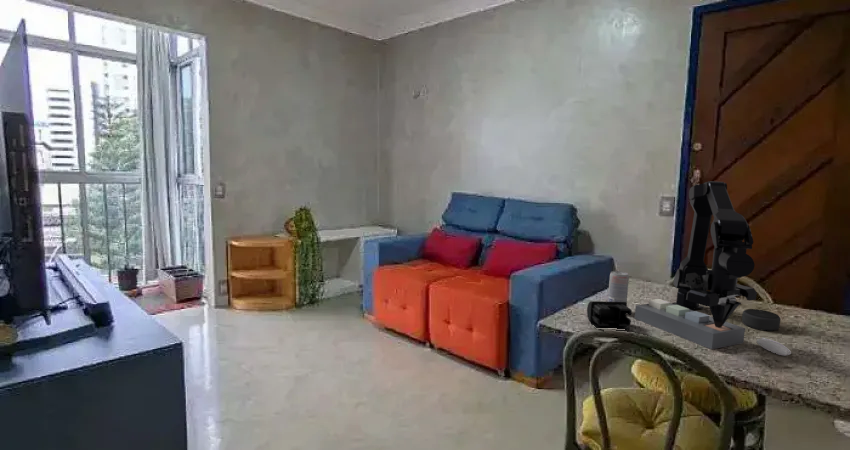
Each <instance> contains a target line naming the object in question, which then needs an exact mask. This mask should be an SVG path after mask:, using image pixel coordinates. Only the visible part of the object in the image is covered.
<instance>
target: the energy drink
mask: <svg viewBox="0 0 850 450" xmlns="http://www.w3.org/2000/svg"><path fill="white" fill-rule="evenodd" d="M629 278H630V276H629V273H628V272H625V271H620V270H613V271H610V274H609V282H608V295H607V302H627V303H628V292H629Z"/></svg>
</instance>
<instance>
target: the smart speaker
mask: <svg viewBox="0 0 850 450" xmlns="http://www.w3.org/2000/svg"><path fill="white" fill-rule="evenodd" d="M741 322H742V323H743V324H744V325H745V326H747V327H750V328H752V329H755V330H761V331H766V330H767V332H769V331H772V332H773V330H774V331H777V330H779V328H780V326H781V317H780V315H778V314H777V313H774V312H772V311H768V310H765V309H755V308H748V309H744V310H743V311H742V316H741Z"/></svg>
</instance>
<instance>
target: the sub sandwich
mask: <svg viewBox="0 0 850 450" xmlns="http://www.w3.org/2000/svg"><path fill="white" fill-rule="evenodd" d="M756 343H757V344H758V345H759V346H760V347H761V348H763V349H764V350H766V351H769V352H770V351H771V352H770V353H773V354H775V353H776V354H775V355H779V356H788V355H791V354H792V351H791V350H790V349H789V348H788V347H787V346H786V345H784V344H783V343H781V342H779V341H776V340H773V339H770V338H766V337H761V338H757V339H756Z"/></svg>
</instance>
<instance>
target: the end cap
mask: <svg viewBox="0 0 850 450" xmlns="http://www.w3.org/2000/svg"><path fill="white" fill-rule="evenodd" d="M632 312H633V311H632V309H630V308H629V307H628V301H627V302H608V301H603V300H602V301H601V300H600V301H598V300H596V301H595V300H594V301H593V300H591V301H589V302H588V304H587V309H586V315H587V319H588V321H589V323H590V325H591V326H592V325H594V326H595V327H596V328H617V329H625V330H624V331H630V327H629V326H631V323H632V320H631V319H630V318H629V317H628V316H627V315H629V316H632V314H633V313H632ZM595 327H594V328H595ZM596 328H595V329H596Z"/></svg>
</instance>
